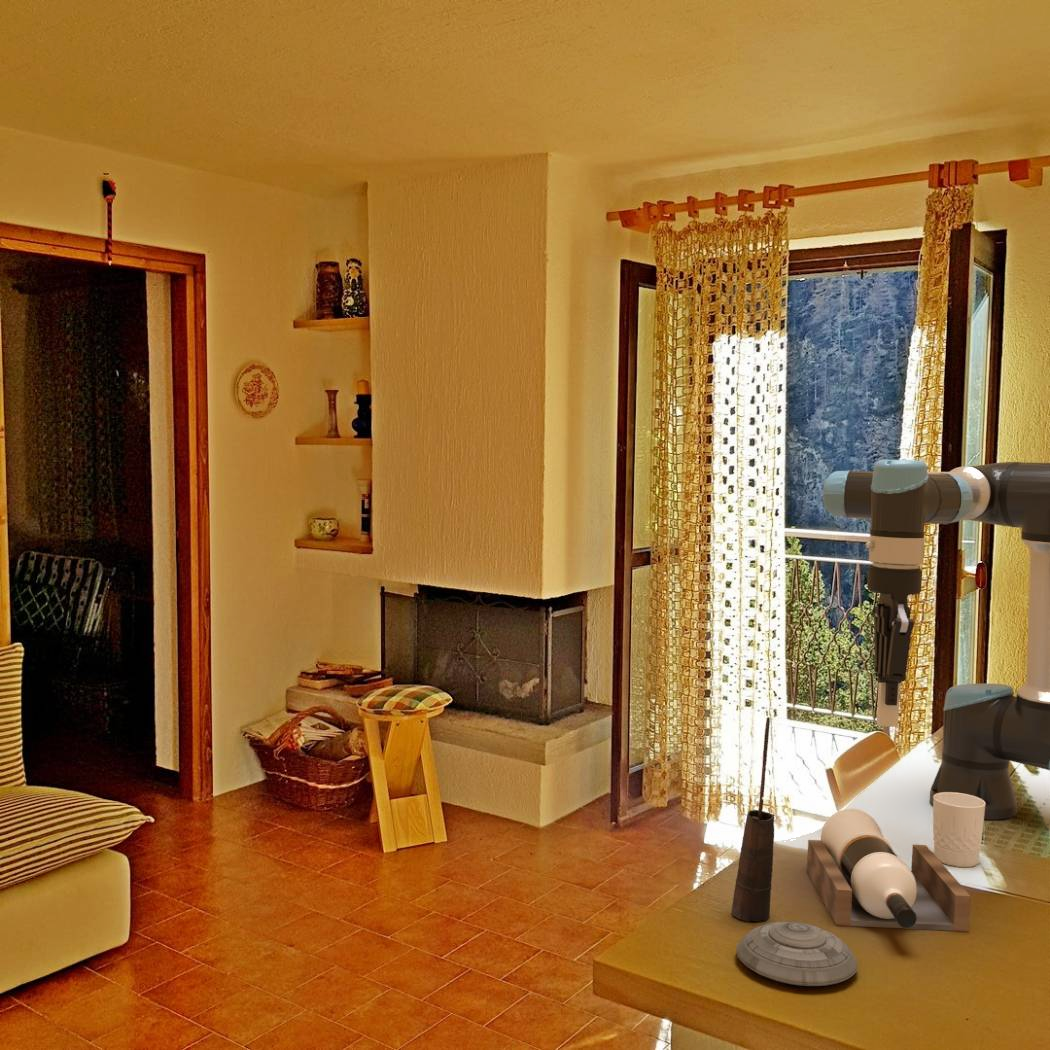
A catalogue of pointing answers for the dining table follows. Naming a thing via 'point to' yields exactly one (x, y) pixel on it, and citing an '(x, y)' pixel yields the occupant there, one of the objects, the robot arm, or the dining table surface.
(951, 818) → the white cup
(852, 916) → the u rest
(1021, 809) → the dining table surface
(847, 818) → the vodka
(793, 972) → the flying saucer
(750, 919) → the butter churn
